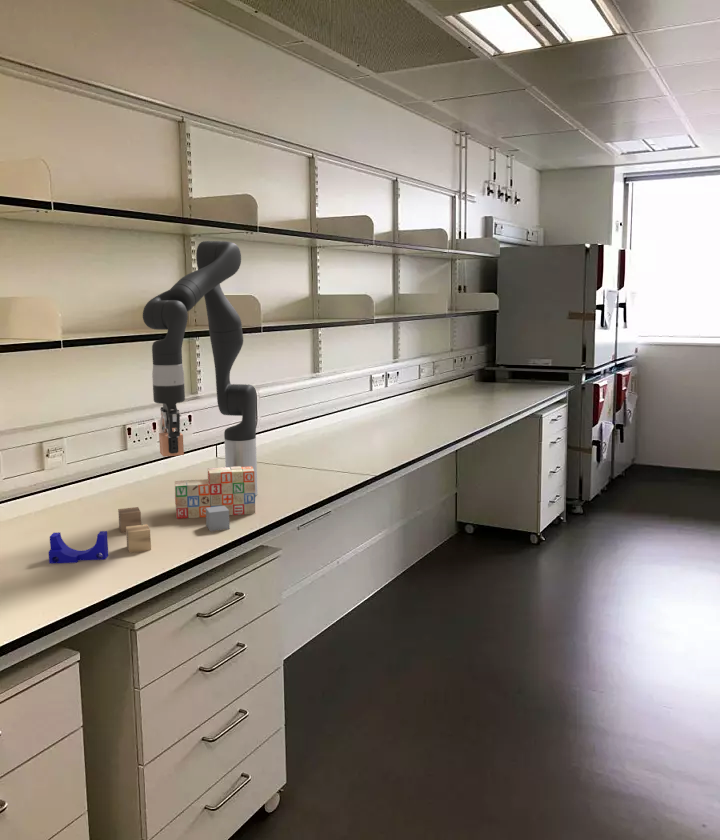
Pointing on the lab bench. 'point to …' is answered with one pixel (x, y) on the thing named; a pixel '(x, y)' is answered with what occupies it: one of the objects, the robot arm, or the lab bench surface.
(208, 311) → the robot arm
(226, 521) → the gray block
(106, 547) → the blue cradle bracket
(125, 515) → the tan block
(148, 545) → the oak block
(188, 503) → the stack of blocks
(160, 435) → the terracotta block
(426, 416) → the lab bench surface
